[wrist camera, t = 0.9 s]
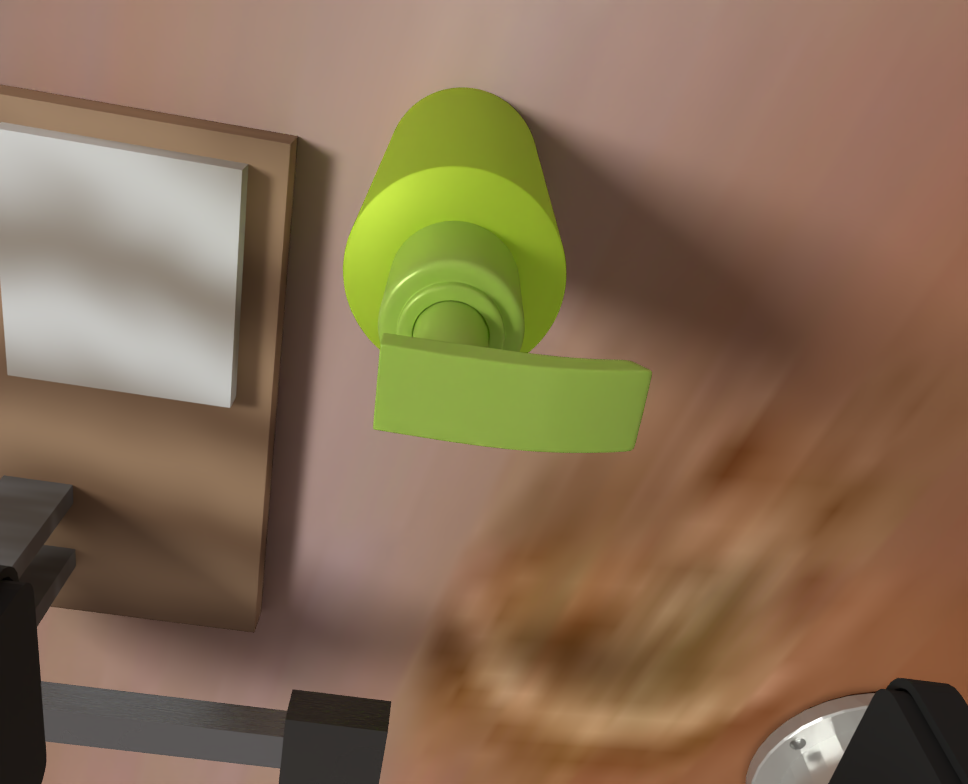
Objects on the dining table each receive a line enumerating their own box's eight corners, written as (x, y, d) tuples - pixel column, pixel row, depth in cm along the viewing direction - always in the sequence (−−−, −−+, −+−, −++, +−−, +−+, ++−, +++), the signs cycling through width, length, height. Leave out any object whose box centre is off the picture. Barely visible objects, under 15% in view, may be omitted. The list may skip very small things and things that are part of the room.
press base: (261, 611, 45) (173, 881, 32) (17, 580, 44) (-173, 845, 31) (297, 136, 34) (188, 254, 22) (-22, 80, 33) (-337, 169, 21)
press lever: (382, 733, 37) (366, 866, 32) (-190, 664, 35) (-309, 793, 30) (401, 624, 35) (387, 749, 29) (-218, 543, 33) (-354, 662, 27)
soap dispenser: (550, 249, 37) (617, 544, 19) (382, 227, 36) (288, 509, 18) (575, 102, 34) (682, 283, 16) (394, 77, 34) (299, 235, 16)
